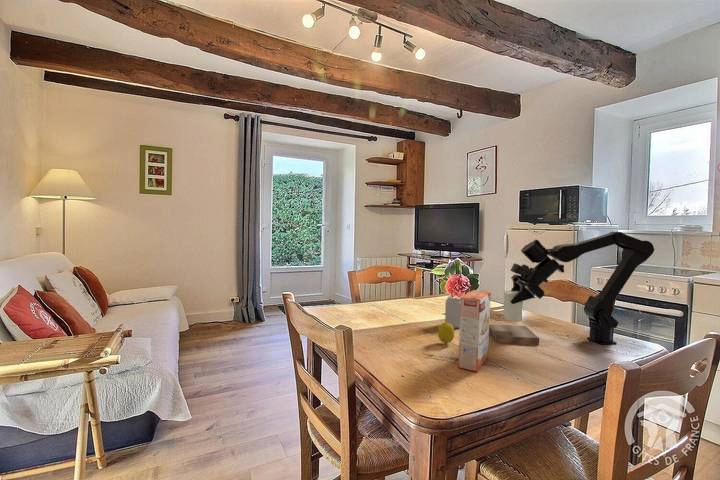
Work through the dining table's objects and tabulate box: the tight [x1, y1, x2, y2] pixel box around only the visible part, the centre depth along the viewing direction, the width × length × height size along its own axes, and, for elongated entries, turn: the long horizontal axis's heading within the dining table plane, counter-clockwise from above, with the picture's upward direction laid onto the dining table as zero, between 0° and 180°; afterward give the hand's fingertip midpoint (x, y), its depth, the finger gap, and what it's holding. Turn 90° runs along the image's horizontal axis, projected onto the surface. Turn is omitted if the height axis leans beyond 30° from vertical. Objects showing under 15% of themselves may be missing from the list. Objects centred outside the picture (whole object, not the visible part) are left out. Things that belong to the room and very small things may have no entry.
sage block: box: [503, 290, 524, 322], centre depth 129 cm, size 5×5×10 cm
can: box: [444, 295, 461, 329], centre depth 142 cm, size 8×8×12 cm
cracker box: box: [457, 289, 492, 373], centre depth 105 cm, size 14×6×21 cm, turn 148°
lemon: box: [437, 321, 455, 345], centre depth 121 cm, size 6×6×8 cm
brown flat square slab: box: [489, 323, 540, 346], centre depth 129 cm, size 14×14×3 cm
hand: (509, 301), depth 129 cm, fingers closed on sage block, 5 cm apart
